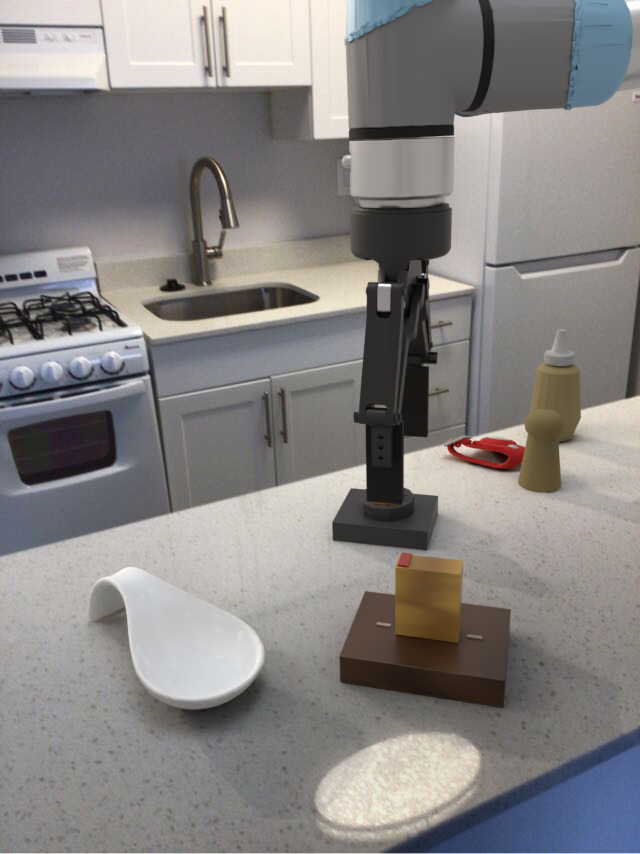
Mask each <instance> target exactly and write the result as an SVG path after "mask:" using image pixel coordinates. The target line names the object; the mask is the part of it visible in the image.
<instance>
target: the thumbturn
mask: <svg viewBox="0 0 640 854" xmlns="http://www.w3.org/2000/svg"><path fill="white" fill-rule="evenodd" d="M394 574H395V575H394V576H395V577H394V595H395V633H396V634H397V635H404V636H411V637H418V638H426V639H433V640H440V641H447V642H455V643H458V642H459V637H460V631H461V617H462V603H463V588H464V587H463V585H464V584H463V583H464V582H463V581H464V560H461V559H454V558H453V559H452V558H443V557H434V556H433V557H432V556H425V555H415V554H413V553H411V552H401V553H400V554H399V556H398V558H397V561H396V564H395V567H394Z"/></svg>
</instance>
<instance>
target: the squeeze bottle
mask: <svg viewBox="0 0 640 854" xmlns="http://www.w3.org/2000/svg"><path fill="white" fill-rule="evenodd" d="M543 361H544V362H542V363H541V364H539V365H538V366H537V369H536V375H535V381H534V385H533V392H532V397H531V403H530V409H529V413H530V412H531V411H534V410H539V409H546V410H552V411H555V412H557V413H559V414H560V415H561V417H562V419H563V429H562V432H561V433H560V435H559V436H558V441H559V443H560V442H567V441H569V440H571V439H572V438H573V436H574V433H575V431H576V430H577V428H578V425H579V423H580V421H581V418H582V411H581V410H582V408H581V407H582V405H581V404H582V403H581V369H580V367H579V366H578V365H577V364H575V363H576V362H575V361H576V353H575V351H573V350H570V349H569V345H568V339H567V330H566V329H565V328H564V329H562V328H560V329H557V331H556V334H555V337H554V340H553V344H552V347H551V349H546V351H544V356H543Z"/></svg>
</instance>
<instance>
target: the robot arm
mask: <svg viewBox="0 0 640 854" xmlns="http://www.w3.org/2000/svg"><path fill="white" fill-rule="evenodd" d="M345 21H346V22H345V23H346V25H345V26H346V27H345V37H344V39H343V41H344V46H345V61H346V65H345V66H346V89H347V90H346V91H347V115H348V116H347V117H348V120H347V121H348V140H349V143H348V144H349V146H348V150H349V151H348V152H349V153H350V154H345V155H343V157H342V159H341V166H342V167H343V168H344V169H347V170H348V169H350V171H349V195H350V196H351V197H352V198H353V199H355V200H358V204H357V205H354V206H352V209H351V210H350V211H349V224H350V225H349V231H350V234H349V237H350V252H351V253H352V255H353V256H354V257H355V258H357V259H360V260H364V261H375V262H376V263H377V264H378V270H377V281H368V282H367V285H366V287H365V295H366V319H365V330H364V343H363V353H362V354H363V355H362V356H363V357H362V367H361V381H360V393H359V405H358V411H353V422H354V424H359V425H365V427H364V428H365V430H364V431H365V476H366V477H365V479H366V481H365V483H366V485H365V486H366V488H365V489H367V501H368V502H380V503H391V504H402V503H403V501H404V488H405V437H415V438H428V436H429V407H430V406H429V400H430V398H429V397H430V366H429V365H437V364H438V358H439V357H438V356H439V355H438V354H439V353H438V351H432V349H433V348H434V342H433V337H432V319H431V304H430V303H431V302H430V286H431V285H430V278H429V266H430V260H435V259H439V258H442V257H445V256H446V255H447V254H449V252H450V251H451V249H452V228H453V227H452V226H453V223H452V222H453V207H451V206H450V203H448V202H446V197H448V196H450V195H451V194H453V192H454V177H455V174H454V173H455V139H456V138H455V124H454V123H455V117H456V116H458V117H461V118H472V117H477V116H482V115H489V114H502V113H512V112H523V111H524V112H525V111H533V110H534V111H535V110H536V111H537V110H556V109H557V110H559V109H564V111H571V110H572V109H574V108H576V109H577V108H586V107H597V106H600V105H603V104H605V103H607V102H608V101H609V100H611V98H613V97H614V95H615V94H616V93H617V92H624V91H629V90H636V89H640V0H346V20H345ZM425 365H428V366H425ZM376 406H385V407H376Z"/></svg>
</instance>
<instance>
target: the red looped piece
mask: <svg viewBox="0 0 640 854" xmlns="http://www.w3.org/2000/svg"><path fill="white" fill-rule="evenodd" d="M462 446H464V447H467V448H470V449H476V450H483V451H488V452H489V451H490V452H496V453H500V454H503V455H505V456H507V457H508V458H507V459H506V460H505V461H504V462H503V463H498V462H494V461H489V460H486V459H481V458H477V457H472V456H468V455H465V454H462V453H461V452H459V451H457V450H456V448H457V449H459V448H461V447H462ZM443 447H446V448H447V451H448V453H449V454H451V456H453V457H456V458H458V459H460V460H462V461H465V462H469V463H473V464H475V465H476V464H477V465H481V466H485V467H489V468H493V469H502V470H503V469H505V470H509V469H510V470H512V469H515V468H518V466H521V465H522V460H523V455H524V451H525V446H523V445H520V444H518V443H517V442H515V440H513V439H509V438H506V437H501V436H486V437H481V439H479V440H472V436H471V435H465V434H464V435H461V436H458V437H457V436H456V437H453V438H451V439H448V440H447V441H446V442H445V443H443Z"/></svg>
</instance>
